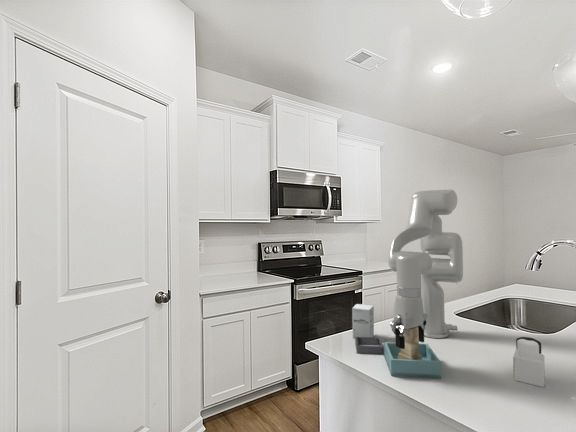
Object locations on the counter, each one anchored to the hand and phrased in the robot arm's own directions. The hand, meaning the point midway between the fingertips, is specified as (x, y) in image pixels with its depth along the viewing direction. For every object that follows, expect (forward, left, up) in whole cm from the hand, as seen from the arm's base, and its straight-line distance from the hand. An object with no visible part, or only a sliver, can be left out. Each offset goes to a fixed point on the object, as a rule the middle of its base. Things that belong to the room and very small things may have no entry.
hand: (410, 344), depth 108 cm
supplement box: (+13, -26, -8) cm, 30 cm away
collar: (+12, -14, -7) cm, 20 cm away
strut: (0, 0, -6) cm, 6 cm away
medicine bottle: (-33, +5, -8) cm, 34 cm away
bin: (0, 0, -7) cm, 7 cm away
